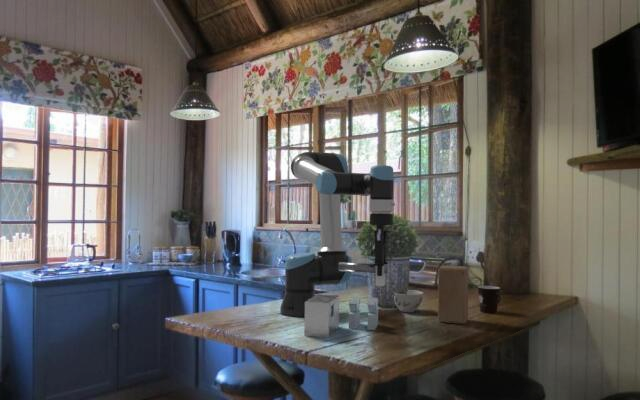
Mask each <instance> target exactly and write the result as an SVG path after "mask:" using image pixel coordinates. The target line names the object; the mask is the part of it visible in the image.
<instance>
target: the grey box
mask: <svg viewBox="0 0 640 400" xmlns="http://www.w3.org/2000/svg"><path fill="white" fill-rule="evenodd" d="M339 326H340V295H336V294H320V293H317V294H315V296H313V297H312V298H310V299H309V300H307V301H305V316H304V330H303V331H304V337H318V338H319V337H320V338H330V337H331V336H332V335H333V334H334V332H336V330H337V329H338V328H339Z"/></svg>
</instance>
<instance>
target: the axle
mask: <svg viewBox="0 0 640 400" xmlns="http://www.w3.org/2000/svg"><path fill="white" fill-rule="evenodd" d="M373 264H374V263H365V262H352V263H348V262H339V266H338V269H339V271H345V272H351V273H366V274H367V273H369V274H370V273H371V274H372V273H373V274H374V273H375V274H376V266H374V265H373ZM384 273H386V275H388V274H389V263H388V264H384Z"/></svg>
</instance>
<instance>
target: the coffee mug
mask: <svg viewBox="0 0 640 400" xmlns="http://www.w3.org/2000/svg"><path fill="white" fill-rule="evenodd" d="M500 289H501V288H500V287H499V286H493V285H478V286H477V293H478V302H479V312H481V313H483V314H497V312H498V306H499V304H500V302H501V294H500Z"/></svg>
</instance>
